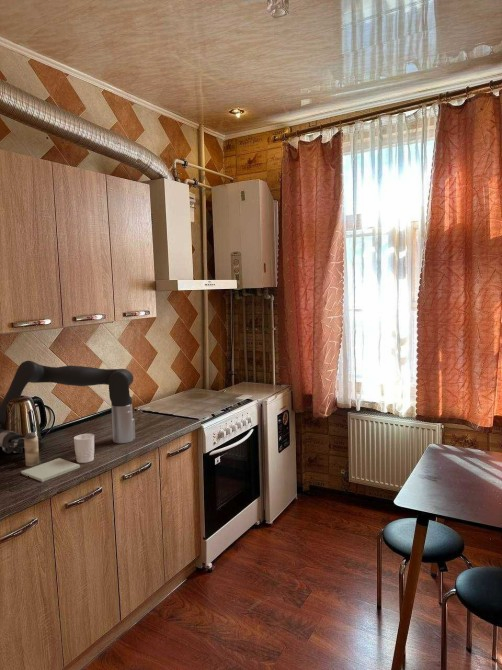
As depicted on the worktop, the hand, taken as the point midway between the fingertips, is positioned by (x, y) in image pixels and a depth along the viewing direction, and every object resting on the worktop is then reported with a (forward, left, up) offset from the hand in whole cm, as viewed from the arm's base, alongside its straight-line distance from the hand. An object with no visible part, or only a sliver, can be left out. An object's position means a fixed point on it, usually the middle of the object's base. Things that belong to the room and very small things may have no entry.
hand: (32, 447), depth 182 cm
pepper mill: (0, 0, -7) cm, 7 cm away
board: (0, +13, -7) cm, 14 cm away
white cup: (-14, +15, -7) cm, 21 cm away
